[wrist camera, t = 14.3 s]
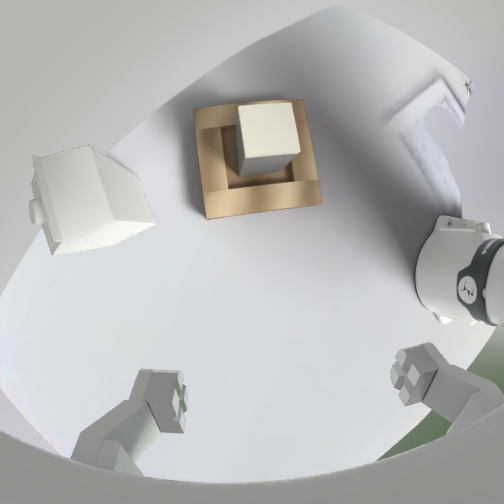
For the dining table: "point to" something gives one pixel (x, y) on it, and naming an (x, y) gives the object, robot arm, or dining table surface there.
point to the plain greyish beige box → (265, 138)
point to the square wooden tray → (254, 186)
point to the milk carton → (86, 201)
